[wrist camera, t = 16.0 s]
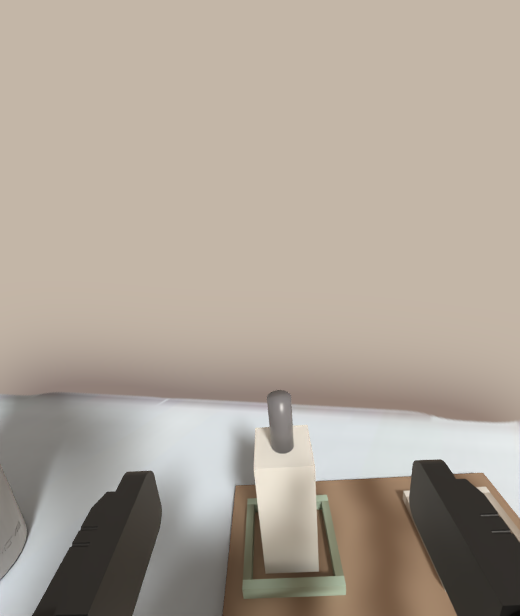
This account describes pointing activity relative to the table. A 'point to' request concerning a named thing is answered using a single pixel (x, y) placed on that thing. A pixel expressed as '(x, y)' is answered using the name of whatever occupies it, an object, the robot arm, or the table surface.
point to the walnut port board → (347, 555)
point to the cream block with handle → (286, 491)
